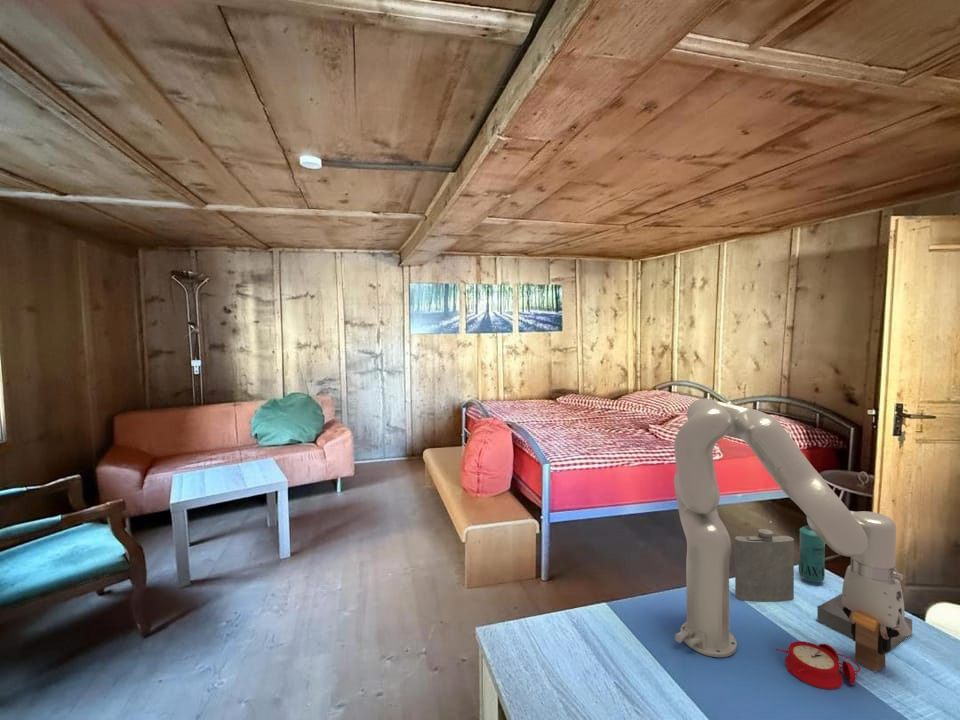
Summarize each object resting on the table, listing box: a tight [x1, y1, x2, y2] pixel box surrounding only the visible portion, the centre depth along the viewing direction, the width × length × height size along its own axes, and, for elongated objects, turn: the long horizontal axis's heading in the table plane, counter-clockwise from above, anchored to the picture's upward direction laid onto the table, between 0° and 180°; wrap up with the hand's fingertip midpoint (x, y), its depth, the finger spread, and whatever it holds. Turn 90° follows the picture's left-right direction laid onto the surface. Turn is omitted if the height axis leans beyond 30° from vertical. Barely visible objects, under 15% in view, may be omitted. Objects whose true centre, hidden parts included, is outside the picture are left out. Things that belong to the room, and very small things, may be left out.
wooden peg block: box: [852, 611, 887, 673], centre depth 101 cm, size 7×4×12 cm, turn 116°
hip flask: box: [734, 528, 795, 603], centre depth 127 cm, size 16×4×20 cm, turn 87°
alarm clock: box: [775, 640, 861, 690], centre depth 100 cm, size 10×6×15 cm
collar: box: [816, 593, 913, 654], centre depth 113 cm, size 14×14×4 cm
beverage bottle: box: [798, 515, 826, 583], centre depth 134 cm, size 6×7×20 cm
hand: (870, 645), depth 101 cm, fingers closed on wooden peg block, 4 cm apart
